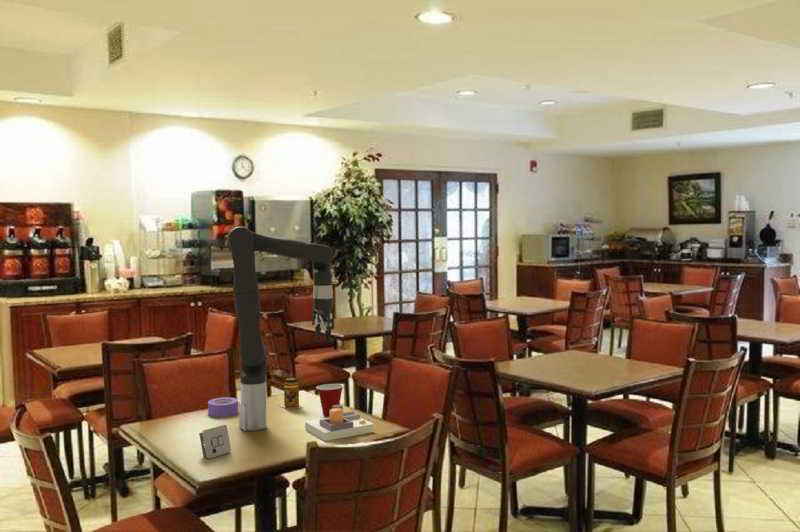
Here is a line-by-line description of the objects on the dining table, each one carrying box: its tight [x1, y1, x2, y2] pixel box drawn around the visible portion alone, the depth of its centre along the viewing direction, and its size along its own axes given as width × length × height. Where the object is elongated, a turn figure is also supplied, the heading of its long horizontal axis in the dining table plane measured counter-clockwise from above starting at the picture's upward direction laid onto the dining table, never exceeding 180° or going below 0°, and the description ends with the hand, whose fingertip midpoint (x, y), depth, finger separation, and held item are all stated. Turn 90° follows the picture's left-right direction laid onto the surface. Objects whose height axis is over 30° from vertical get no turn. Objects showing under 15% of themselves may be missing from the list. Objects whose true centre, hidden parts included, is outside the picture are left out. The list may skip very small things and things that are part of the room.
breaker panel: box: [304, 410, 375, 442], centre depth 251 cm, size 20×16×5 cm
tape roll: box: [207, 396, 239, 418], centre depth 275 cm, size 12×12×5 cm
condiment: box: [278, 377, 303, 411], centre depth 285 cm, size 7×8×12 cm
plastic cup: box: [316, 383, 344, 418], centre depth 272 cm, size 11×11×12 cm
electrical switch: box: [198, 424, 232, 460], centre depth 225 cm, size 9×5×9 cm, turn 141°
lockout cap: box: [330, 408, 344, 425], centre depth 246 cm, size 5×5×6 cm
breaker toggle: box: [332, 404, 344, 410], centre depth 255 cm, size 3×3×5 cm
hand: (323, 338), depth 263 cm, fingers open, 8 cm apart
